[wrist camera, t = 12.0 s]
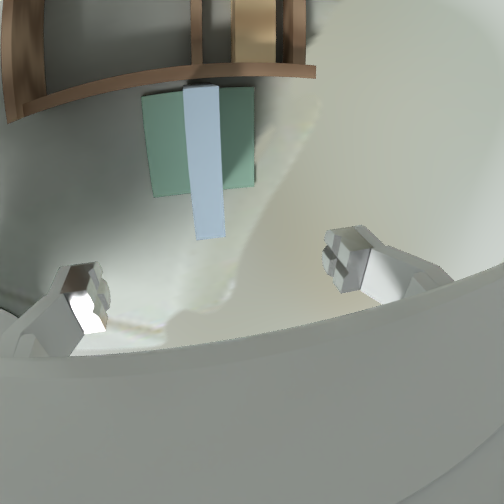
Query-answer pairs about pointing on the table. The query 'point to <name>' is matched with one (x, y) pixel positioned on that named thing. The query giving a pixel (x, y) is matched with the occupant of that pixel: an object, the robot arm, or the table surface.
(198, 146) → the sheet
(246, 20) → the offcut
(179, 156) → the pad
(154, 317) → the table surface
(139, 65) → the table surface
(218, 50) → the table surface
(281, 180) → the table surface
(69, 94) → the rack
